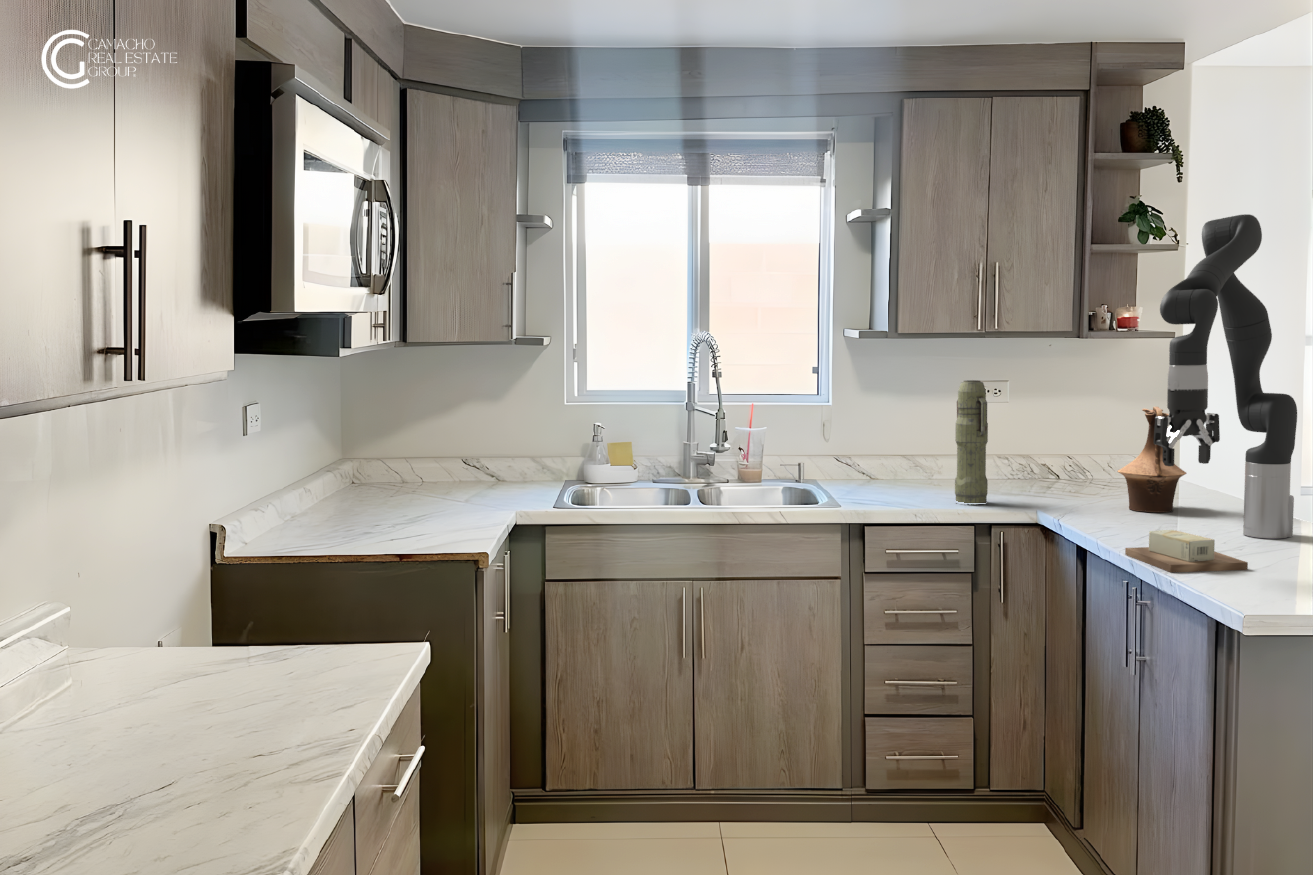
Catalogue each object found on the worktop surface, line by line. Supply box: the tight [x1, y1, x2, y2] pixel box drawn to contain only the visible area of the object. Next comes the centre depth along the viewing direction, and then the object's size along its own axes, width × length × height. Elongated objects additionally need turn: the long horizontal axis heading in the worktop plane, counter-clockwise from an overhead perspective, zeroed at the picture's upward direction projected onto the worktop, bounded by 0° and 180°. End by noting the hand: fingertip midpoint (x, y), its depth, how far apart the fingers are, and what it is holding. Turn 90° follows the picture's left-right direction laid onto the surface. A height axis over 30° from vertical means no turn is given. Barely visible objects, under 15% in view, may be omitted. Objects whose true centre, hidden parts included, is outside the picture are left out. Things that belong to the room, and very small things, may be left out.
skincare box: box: [1148, 529, 1216, 562], centre depth 224 cm, size 6×4×12 cm
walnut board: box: [1124, 546, 1249, 573], centre depth 225 cm, size 16×18×2 cm
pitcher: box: [1117, 406, 1187, 513], centre depth 290 cm, size 18×17×28 cm
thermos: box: [954, 379, 989, 503], centre depth 308 cm, size 9×12×35 cm
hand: (1186, 464), depth 225 cm, fingers open, 8 cm apart
